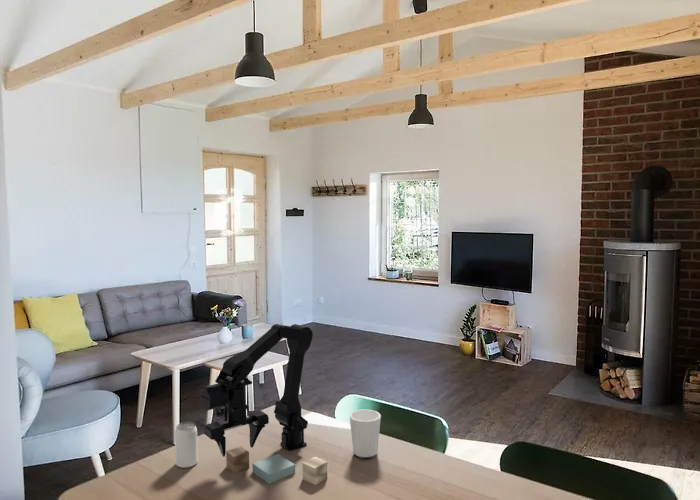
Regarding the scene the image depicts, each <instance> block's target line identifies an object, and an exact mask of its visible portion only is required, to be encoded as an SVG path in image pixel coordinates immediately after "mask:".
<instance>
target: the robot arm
mask: <svg viewBox="0 0 700 500" xmlns="http://www.w3.org/2000/svg"><path fill="white" fill-rule="evenodd" d="M313 337H314V332H313V330H312V329H311V328H310V327H308V326H304V325H301V324H296V323H294V324H292V325H283V324H279V323H275V324H273V325H272V326H271V327H270V328H269V329H268V330H267V331H266V332H265V333H264V334H263V335H262V336H261V337H259V338H258V339H257V340H256V341H255V342H254V343H252V344H250V345H249V347H248V348H246V349H245V350H243V351H242V352H238V353H236V354H234V355H232V356H230V357H229V358H227V359H226V360H225V361H224V362H223V364H222V368H221V370H220V372H219V373H218V375H217V377H216V378H215V381H214V382H215V384H211V385H204V386H203V390H202V391H201V394H200V398H199V400H200V403H201V406H202V407H201V408H202V409H203V410H204V411H206V412H208V411H211V410H212V415H213V418H219V420H222V419H223V421H224V422H226V423H222V424H221V423H219V422H218V421H214V422H211V423H207V424H205V425H204V427H203V434H204V435H205V436H206V437H208V438H209V439H210V440H212V441H213V440H214V442H216V444H217V446H218V448H219V452H220V454H221V456H222V457H224V458H226V451H227V450H226V448H227V447H226V445H227V443H226V441H227V440H226V439H227V438H226V437H225V433H226V431H228V430H233V429H236V428H239V427H240V428H241V427H243V426H246V425H248V428H249V446H250V448H254V446H255V443H256V441H257V439H258V437H259V435H260V433H261V432H262V430H263V428H265V426H266V425H268V424H269V421H270V418H269V415H268V413H265V412H264V411H262V410H261V409H258V410H254V411H251V412H249V413H248V417H247V410H248V409H249V405H248V404H247V389H246V387H247V386H249V385H252V384H253V381H252V380H251V379H249V378H248V377H249V375H250V374H251V372H252V371H253V369H254V367H255V364H256V363H257V362H258V361H259V360H260V359H261V358H262V357H263V356H265V355H266V354H267V353H268V352H269V351H270V350H272V349H273V348H274V347H276V345H277V344H278V343H280V342H281V340H283V339H286V344H287V347H288V350H289V352H288V353H289V354H288V360H287V367H286V375H285V382H284V387H283V388H284V389H283V395H282V397H281V398H280V399H279V400H275V402H274V403H275V406H274V410H273V413H274V417H275V419H276V420H277V421H278V423H279V425H280V426H282V431H281V442H279V443H280V445H281V446H283V447H284V448H285V449H287V450H289V451H293V450H296V449H300V448H302V447H305V446H307V445H308V443H307V442H305V430H306V429H307V428H308V424H309V422H308V420H307V419H306V418H304V417H303V416H302V405H301V403H300V400H299V396H300V395H299V394H300V388H301V382H302V374H303V366H304V361H305V354H306V353H307V351H308V350H309V349H310V347H311V344H312V340H313ZM228 378H229V379H231V380H229V379H228Z"/></svg>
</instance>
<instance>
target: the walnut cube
mask: <svg viewBox="0 0 700 500" xmlns="http://www.w3.org/2000/svg"><path fill="white" fill-rule="evenodd" d="M225 458H226V459H225V460H226V461H225V463H226V468H227V469H229V470H230V471H231V472H232V473H233V474H236V473H238V472H241V471H244V470H247V469H249V468H250V452H249V450H247V449H245V447H243V446H238V447H235V448H232V449H228V450H226V453H225Z"/></svg>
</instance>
